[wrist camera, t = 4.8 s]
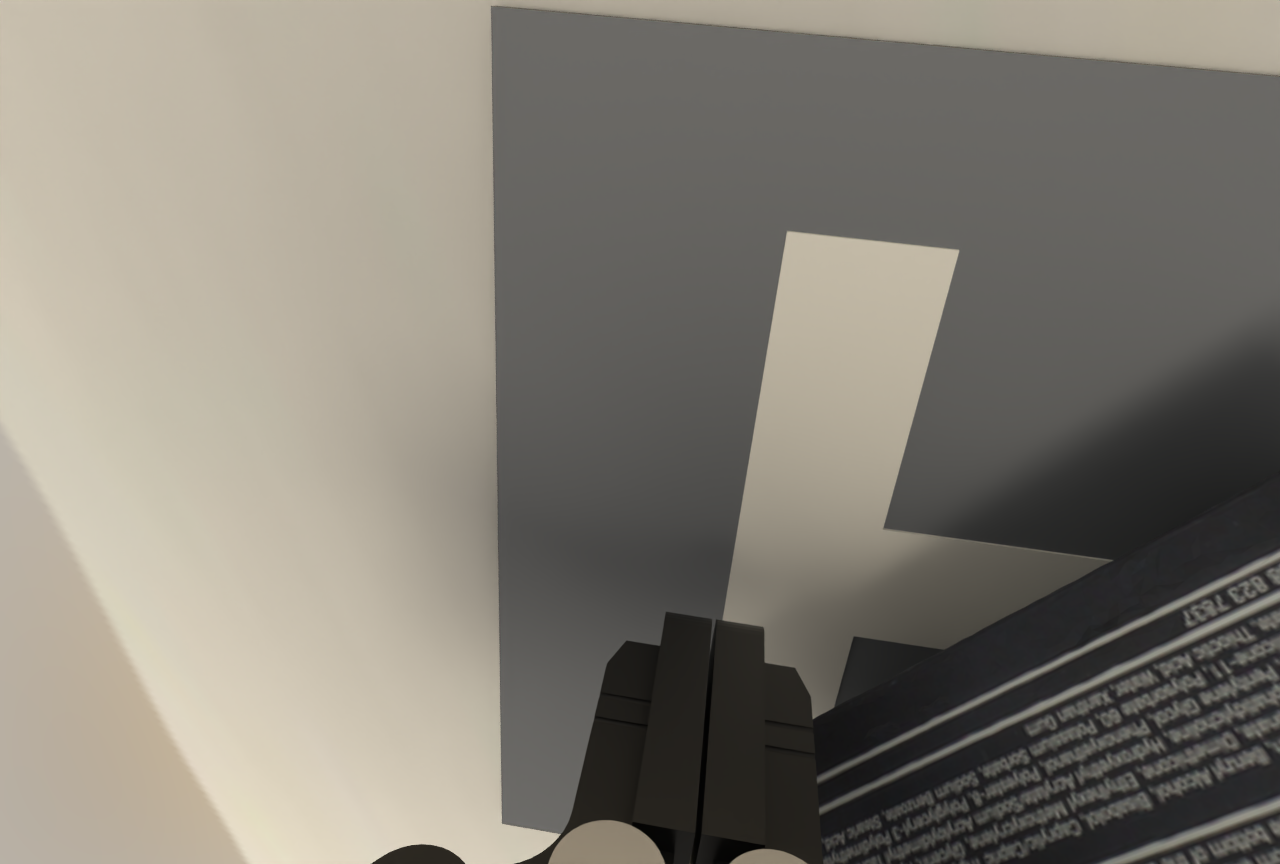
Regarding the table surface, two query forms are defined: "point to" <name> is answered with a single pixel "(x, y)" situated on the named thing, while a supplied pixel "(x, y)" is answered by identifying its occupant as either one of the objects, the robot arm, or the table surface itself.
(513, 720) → the letter board
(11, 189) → the table surface
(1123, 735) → the small box
